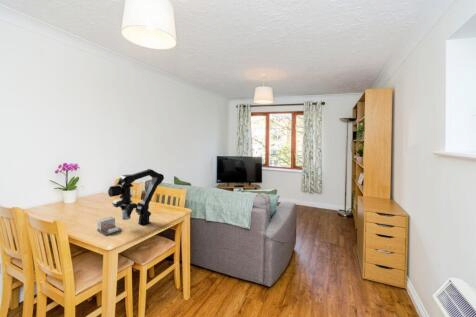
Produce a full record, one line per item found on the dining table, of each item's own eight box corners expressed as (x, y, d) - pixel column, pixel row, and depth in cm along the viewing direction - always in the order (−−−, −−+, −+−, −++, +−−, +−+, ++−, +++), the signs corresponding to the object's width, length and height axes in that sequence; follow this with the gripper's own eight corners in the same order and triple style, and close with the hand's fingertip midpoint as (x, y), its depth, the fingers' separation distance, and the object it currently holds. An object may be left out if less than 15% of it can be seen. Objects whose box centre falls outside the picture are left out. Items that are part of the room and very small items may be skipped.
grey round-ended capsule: (128, 216, 161) (128, 208, 160) (132, 218, 158) (131, 209, 157) (121, 218, 157) (120, 210, 156) (124, 220, 154) (124, 211, 153)
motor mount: (112, 226, 163) (112, 216, 162) (121, 230, 155) (121, 220, 154) (97, 230, 155) (96, 220, 154) (105, 236, 147) (105, 225, 146)
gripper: (107, 193, 155) (107, 216, 156) (120, 198, 144) (121, 223, 145) (123, 190, 164) (124, 212, 165) (137, 195, 153) (138, 218, 154)
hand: (126, 216), depth 157 cm, fingers closed on grey round-ended capsule, 5 cm apart
